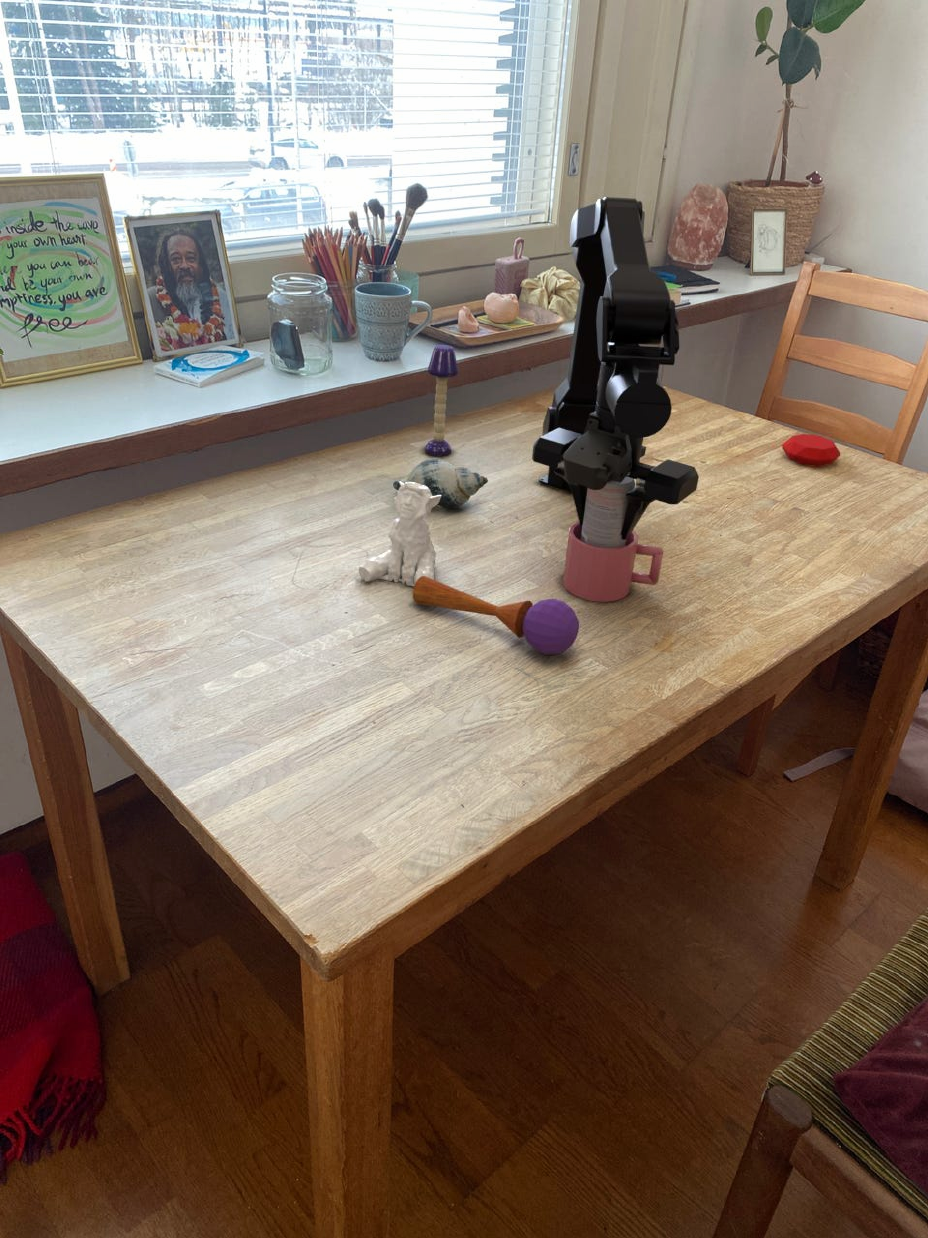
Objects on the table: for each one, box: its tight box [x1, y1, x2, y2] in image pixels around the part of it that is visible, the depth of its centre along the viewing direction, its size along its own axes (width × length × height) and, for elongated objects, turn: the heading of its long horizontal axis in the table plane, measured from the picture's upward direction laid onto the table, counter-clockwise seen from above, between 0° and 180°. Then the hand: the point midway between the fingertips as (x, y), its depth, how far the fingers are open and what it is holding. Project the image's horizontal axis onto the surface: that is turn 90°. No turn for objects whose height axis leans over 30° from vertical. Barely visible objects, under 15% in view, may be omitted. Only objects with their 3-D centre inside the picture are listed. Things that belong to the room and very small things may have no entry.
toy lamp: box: [424, 344, 459, 457], centre depth 146 cm, size 5×5×17 cm
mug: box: [562, 521, 665, 603], centre depth 114 cm, size 11×8×7 cm
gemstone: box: [781, 433, 841, 468], centre depth 156 cm, size 9×9×3 cm
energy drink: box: [580, 476, 636, 548], centre depth 111 cm, size 5×5×12 cm
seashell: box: [392, 457, 489, 509], centre depth 132 cm, size 6×8×12 cm
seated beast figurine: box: [358, 481, 442, 587], centre depth 112 cm, size 10×9×12 cm
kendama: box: [412, 576, 580, 656], centre depth 104 cm, size 6×6×20 cm
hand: (603, 531), depth 112 cm, fingers closed on energy drink, 5 cm apart
